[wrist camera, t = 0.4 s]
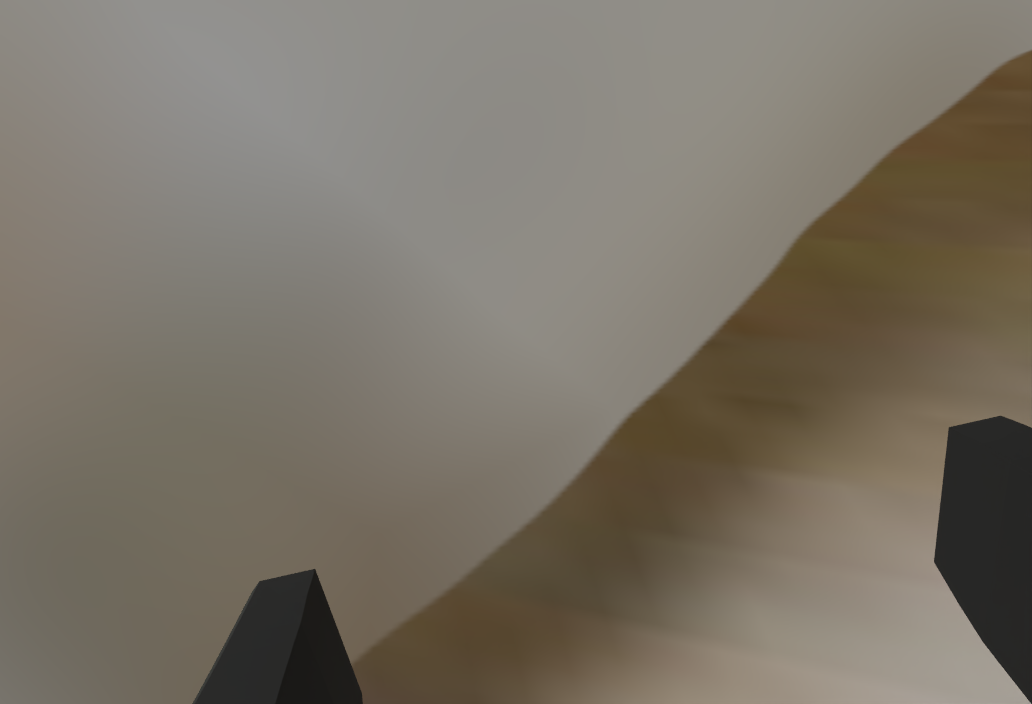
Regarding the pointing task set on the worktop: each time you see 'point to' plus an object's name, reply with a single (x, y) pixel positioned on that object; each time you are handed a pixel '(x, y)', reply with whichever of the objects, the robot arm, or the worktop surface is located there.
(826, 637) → the worktop surface
